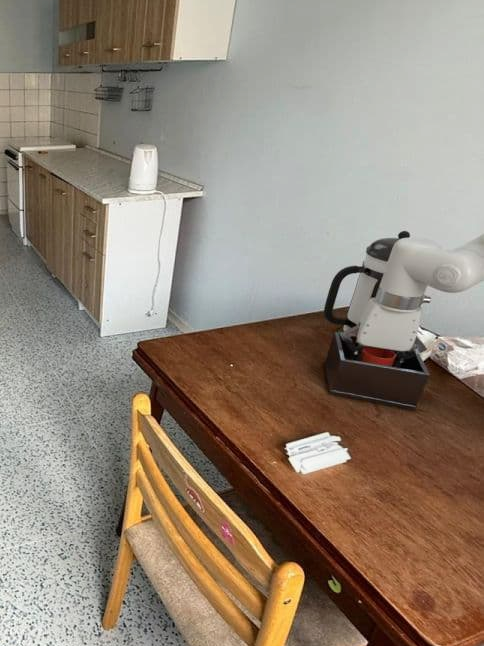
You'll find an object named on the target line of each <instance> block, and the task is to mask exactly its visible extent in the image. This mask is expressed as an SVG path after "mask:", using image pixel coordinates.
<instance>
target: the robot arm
mask: <svg viewBox="0 0 484 646" xmlns="http://www.w3.org/2000/svg"><path fill="white" fill-rule="evenodd" d="M483 281H484V233H482V234H481V235H479V236H477V237H475V238H473V239H472V240H470V241H468V242H466V243H465V244H462V245H460V246H458V247H456V248H453V249H449V250H442V249H441V246H440V245H439V243H437V242H436V241H434V240H430V239H427V238H422V237H409V238H402V239H400V240H398V241H397V242H396V243H395V244H394V246H393V248H392V251H391V254H390V257H389V260H388V263H387V266H386V269H385V272H384V274H383V277H382V280H381V283H380V286H379V289H378V292H377V294H376V297H375V298H371V299H370V300H369V301H368V303H367V305H366V306H365V308H364V310H363V312H362V314H361V316H360V319H359V321H358V323H357V326H355V327H353V328H350V329H348V330H346V331H344V330H343V331H344V332H342V333H340V336H341V338H342V340H343V341H344V342H345V343H346V344H347V346H348V347H349V349H350V350H351V351H352V353H351V356H350V359H349V360H355V361H360V358H361V355H360V352H361V351H362V350H363V349H365V348H366V347H367V346H370V347H376V348H382V349H389V350H395V352H396V358H395V360H394V363H393V365H392V367H396V368H400V366H401V364H402V363H403V362H405V361H406V360H407V359H409V358H412V357H414V356H415V355H416V354H421V353H425V352H426V351H427V350H428V348H427V345H426V344H424V342H423V341H422V340H421V339H420V338H419V336H418V333H419V332H418V331H419V328H420V324H421V319H422V311H423V308H422V305H423V304H430V303H431V300H432V297H431V296H428V295H426V294H425V293H426V290H427V289H428V287H430V288H432V289H435V290H437V291H440V292H442V293H443V292H444V293H449V294H455V293H456V294H457V293H462V292H465V291H468V290H469V289H471V288H473V287H475V286H477V285H478V284H480V283H482V282H483ZM353 335H356V336H357V341H356V342H355V343H354V342H353V341H352V340H351V339H350V337H351V336H353ZM413 344H415V347H413V348H412V346H413Z"/></svg>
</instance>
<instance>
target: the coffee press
mask: <svg viewBox="0 0 484 646" xmlns="http://www.w3.org/2000/svg"><path fill="white" fill-rule="evenodd" d="M402 238H411V234H410V232H409V231H408V230H402V231H400V232H399V233H398V234H397V237H384V238H379V239H376V240H374V241H372V242H371V243H370V245H368V246H366V249H365V254H366V255H365V258H364V261H362V265H361V266H360V265H359V266H358V265H349V266H346V267H344V268H342V269H340V270H339V271H338V272H337V273H336V274H335V275H334V277H333V278H332V281H331V283H330V287H329V290H328V294H327V297H326V299H325V303H324V308H323V315H324V318H325V319H326V320H327V321H328V322H329V323H331V324H334V325H339V327H337V329H336V332H340V333H342V332H344V331H346V330H348V329H350V328H353V327H355V326H357V323H358V321H359V319H360V316H361V314H362V312H363V310H364V308H365V306H366V305H367V303H368V301H369V300H370V299H371V298H375V297H376V294H377V292H378V289H379V286H380V283H381V280H382V277H383V274H384V272H385V269H386V266H387V263H388V260H389V257H390V254H391V251H392V248H393V246H394V244H395V243H396V242H397V241H398V240H400V239H402ZM354 274H359V275H358V278H357V282H356V285H355V287H354V291H353V294H352V297H351V300H350V303H349V307H348V310H347V313H346V315H345V317H337V316H334V313H333V311H334V308H335V304H336V300H337V298H338V297H337V296H338V293H339V290H340V287H341V284H342V283H343V281H344V279H345V278H346V277H347V276H350V275H354ZM341 328H343V330H341Z"/></svg>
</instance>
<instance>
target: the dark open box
mask: <svg viewBox="0 0 484 646" xmlns="http://www.w3.org/2000/svg"><path fill="white" fill-rule="evenodd" d="M350 339H351V340H352V341H353V342H354V343H355V342H356V341H357V336H356V335H353V336H351V337H350ZM329 345H330V346H329V349H328V353H327V355H326V358H325V361H324V366H325V373H326V378H327V384H328V385H327V386H328V390H329V391H328V392H329V394H330V395H334V396H340V397H345V398H349V399H355V400H359V401H366V402H370V403H376V404H380V405H385V406H390V407H396V408H400V409H407V410H411V411H415V410H416V407H417V406H418V403H419V401H420V399H421V396H422V394H423V391H424V389H425V387H426V386H427V385H426V384H427V382H428V380H429V378H430V376H431V374H430V372H429V370H428V368H427V366H426V364H425V362H424V360H423V358H422V356H421V353H419V354H416V355H415V356H414V357H412V358H409V359H407V360H406V361H405V362H403V363H402V364H401V366H400V368H396V367H390V366H384V365H378V364H372V363H367V362H361V361H355V360H349V359H350V356H351V353H352V351H351V350H350V349H349V347H348V346H347V344H346V343H345V342H344V341H343V340H342V338H341V336H340V332H337V331H334V333H333V336H332V339H331V343H330V344H329ZM415 346H416V345H415V344H413V346H412V348H413V347H415ZM392 351H393V352H395V350H392ZM395 354H396V352H395Z"/></svg>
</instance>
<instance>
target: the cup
mask: <svg viewBox="0 0 484 646" xmlns="http://www.w3.org/2000/svg"><path fill="white" fill-rule="evenodd" d="M360 355H361V358H360V361H361V362H367V363H372V364H378V365H384V366H390V367H392V365H393V363H394V360H395V358H396V354H395V352H393V351H392V350H389V349H382V348H376V347H370V346H367V347H366V348H365V349H363V350H362V351H361V352H360Z"/></svg>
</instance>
